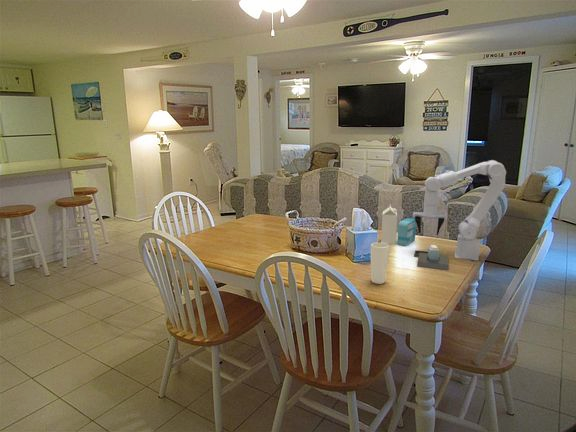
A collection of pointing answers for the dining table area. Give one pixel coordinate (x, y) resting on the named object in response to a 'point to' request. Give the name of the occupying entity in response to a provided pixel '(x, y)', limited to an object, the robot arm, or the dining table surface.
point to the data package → (406, 231)
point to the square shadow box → (418, 253)
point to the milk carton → (389, 226)
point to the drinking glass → (379, 262)
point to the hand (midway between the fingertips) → (428, 233)
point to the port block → (432, 262)
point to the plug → (433, 253)
